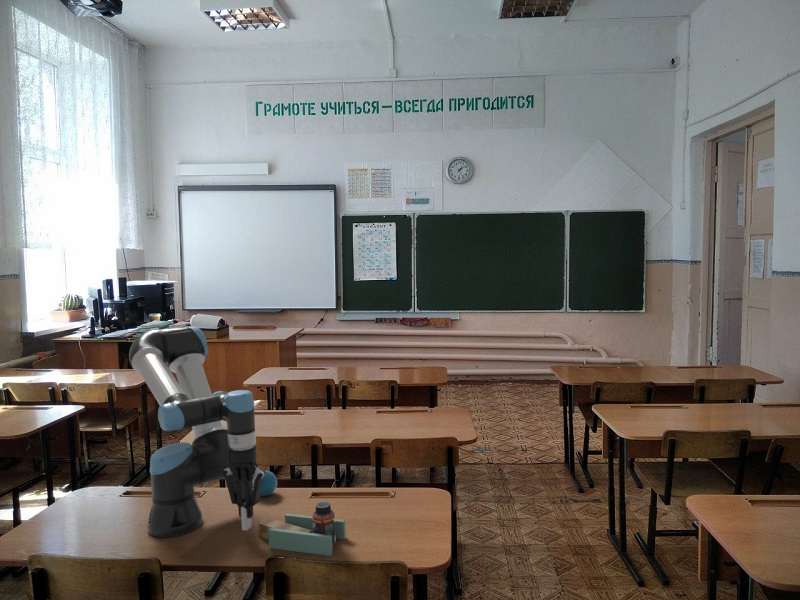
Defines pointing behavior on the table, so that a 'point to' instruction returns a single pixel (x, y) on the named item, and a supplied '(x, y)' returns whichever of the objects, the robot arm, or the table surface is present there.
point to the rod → (277, 527)
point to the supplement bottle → (324, 520)
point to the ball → (268, 484)
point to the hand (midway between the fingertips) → (246, 528)
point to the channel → (304, 536)
